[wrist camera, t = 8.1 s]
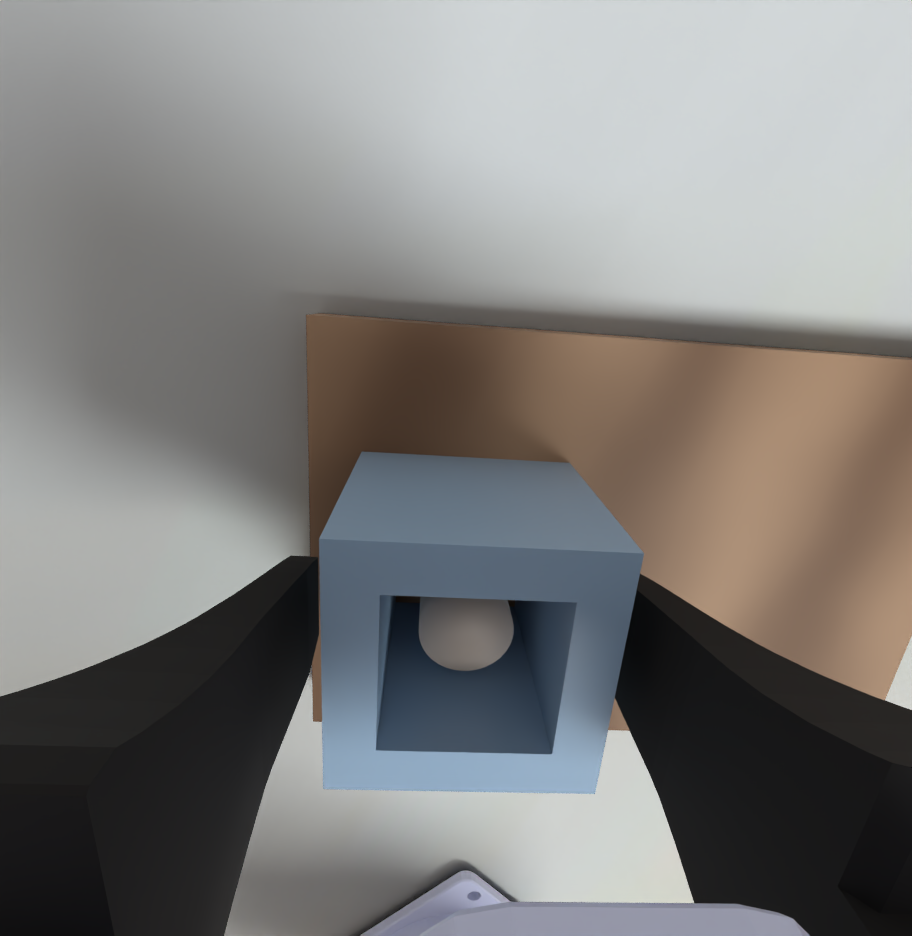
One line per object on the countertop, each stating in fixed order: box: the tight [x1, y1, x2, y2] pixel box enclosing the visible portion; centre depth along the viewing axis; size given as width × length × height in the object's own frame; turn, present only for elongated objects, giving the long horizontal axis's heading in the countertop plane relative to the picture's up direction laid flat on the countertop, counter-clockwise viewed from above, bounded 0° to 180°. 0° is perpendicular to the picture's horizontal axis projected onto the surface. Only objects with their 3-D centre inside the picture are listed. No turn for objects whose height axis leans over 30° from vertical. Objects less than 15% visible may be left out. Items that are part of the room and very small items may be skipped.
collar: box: [319, 452, 644, 794], centre depth 12 cm, size 5×5×5 cm
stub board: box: [306, 313, 912, 731], centre depth 13 cm, size 18×12×5 cm, turn 86°
